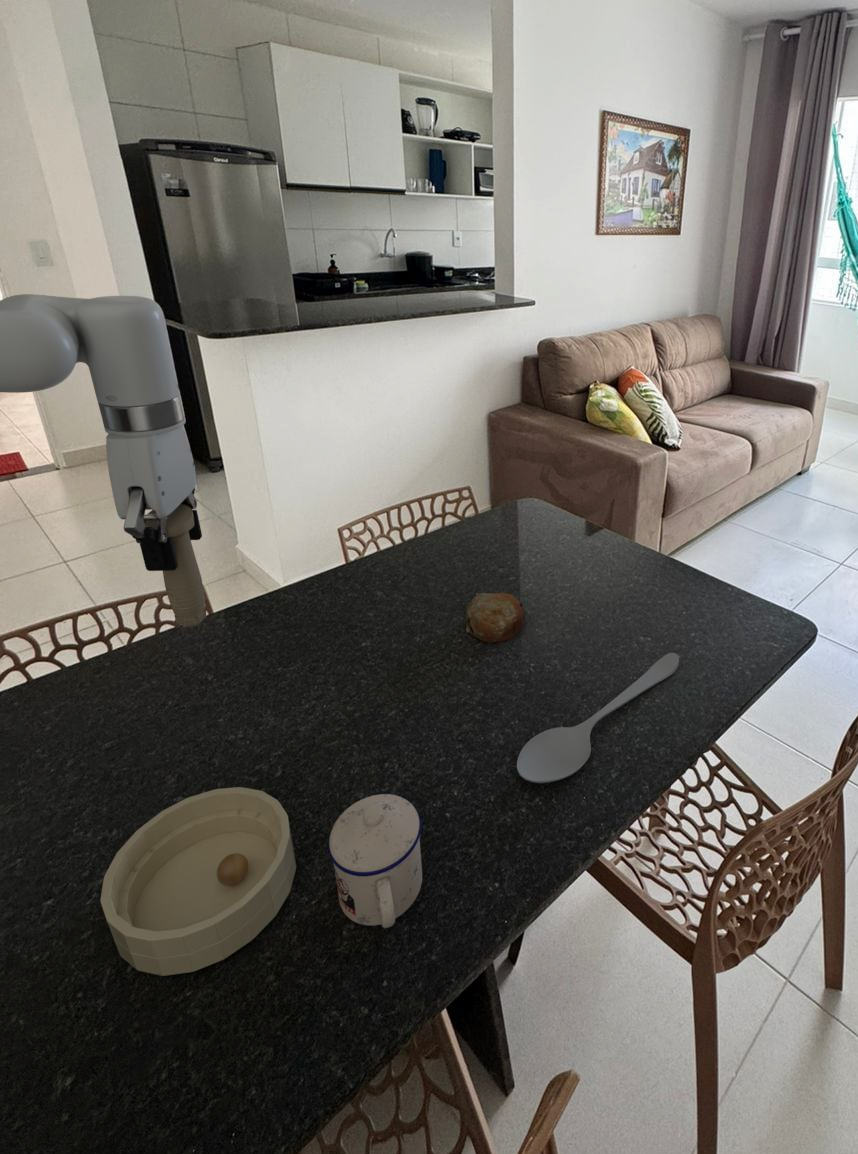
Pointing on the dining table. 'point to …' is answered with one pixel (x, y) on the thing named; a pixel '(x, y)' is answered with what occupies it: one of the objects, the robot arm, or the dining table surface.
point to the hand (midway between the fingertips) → (175, 552)
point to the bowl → (198, 881)
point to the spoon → (580, 733)
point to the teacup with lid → (377, 859)
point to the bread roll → (494, 617)
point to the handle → (183, 569)
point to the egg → (232, 869)
